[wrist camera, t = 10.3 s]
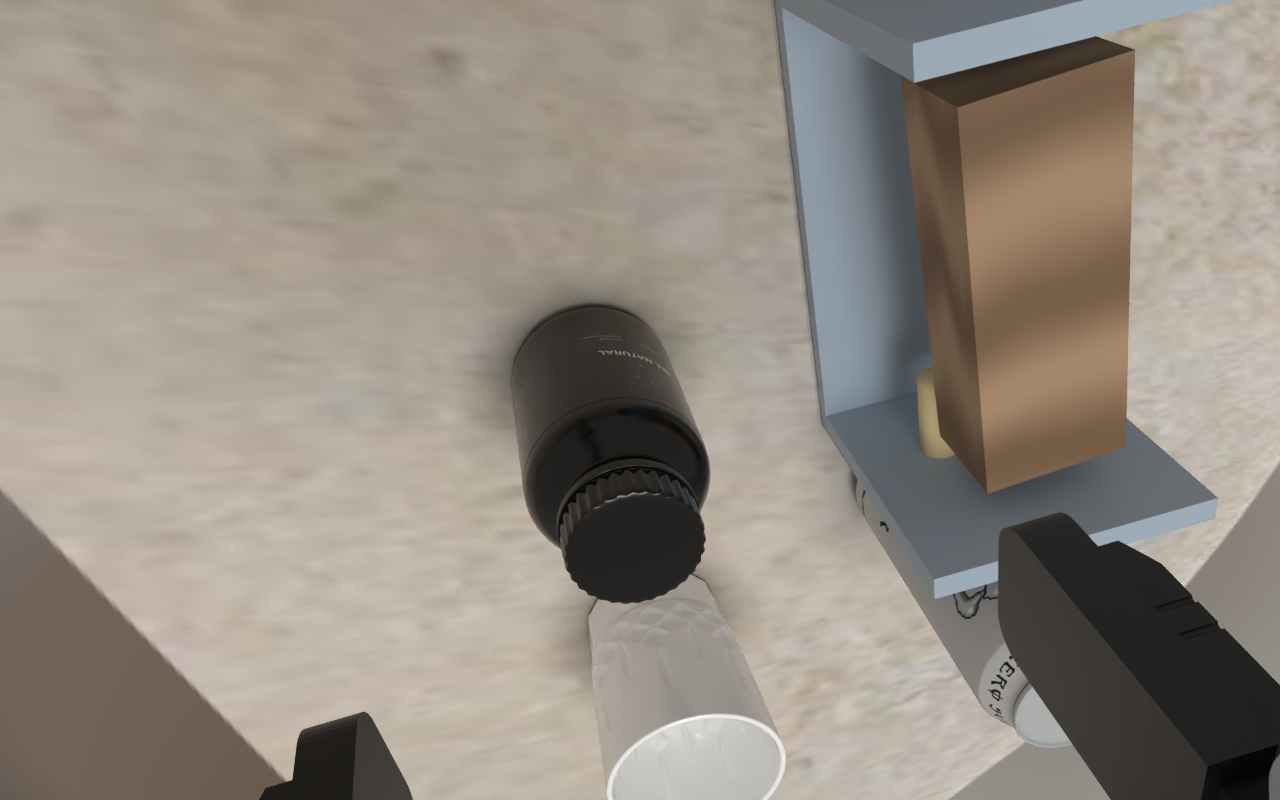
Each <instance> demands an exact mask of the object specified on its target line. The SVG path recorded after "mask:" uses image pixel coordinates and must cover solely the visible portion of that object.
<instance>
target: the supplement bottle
mask: <svg viewBox="0 0 1280 800" xmlns="http://www.w3.org/2000/svg"><path fill="white" fill-rule="evenodd" d="M512 397H513V408H514V416H515V424H516V433H517V441H518V450H519V458H520V466H521V475H522V483H523V491H524V496H525V501H526V505H527V508H528V511H529V514H530V516H531V518H532V520H533V522H534V523H535V525H536V527H537V528H538V529H539V530H540V532H541V533H542V534H543V535H544V536H545V537H546V538H547V539H548V540H549V541H550V542H552V543H553V544H554V545H555V546H557V547H558V548H560V549H561V550H562V555H563V558H564V563H565V568H566V570H567V571H568V572H569V573H570V577H571V579H572V580H573V581H574V582H576V583H577V585H578V587H579V588H580V589H582V590H585V591H586V592H587V594H588V595H591V596H596V597H597V598H598V599H599V600H607V601H609V602H611V603H618V602H619V603H622V604H629V603H640V602H643V601H645V600H653V599H655V598H656V597H658V596H663V595H665V594H667V593H668V592H669V591H671V590H674V589H676V588H677V587H678V586H679V584H681V583H683V582H685V581H686V580H687V578H688V576H689V575H690V574H692V573H693V572H694V571H695V568H696V566H697V565H698V564H699V563H700V561H701V555H702V554H703V552H704V551H705V549H704V543H705V540H706V536H705V533H704V523H703V521H702V518H701V515H700V511H701V509H702V507H703V505H704V502H705V500H706V497H707V493H708V490H709V484H710V464H709V459H708V455H707V452H706V448H705V445H704V442H703V440H702V438H701V435H700V433H699V430H698V428H697V425H696V423H695V421H694V418H693V416H692V413H691V411H690V409H689V406H688V404H687V401H686V399H685V397H684V394H683V392H682V389H681V387H680V385H679V382H678V380H677V377H676V375H675V372H674V370H673V368H672V365H671V363H670V361H669V358H668V356H667V354H666V352H665V350H664V348H663V346H662V344H661V342H660V341H659V339H658V338H657V336H656V335H655V334H654V333H653V331H652V330H651V329H650V328H649V327H647V326H646V325H645V324H644V323H642V322H641V321H640V320H638V319H636V318H635V317H633V316H631V315H629V314H626V313H624V312H621V311H618V310H614V309H609V308H601V307H591V308H581V309H576V310H572V311H568V312H565V313H562V314H560V315H558V316H556V317H554V318H552V319H550V320H548V321H547V322H545V323H544V324H543V325H541V326H540V327H539V328H538V329H536V330H535V331H534V332H533V333H532V334H531V335H530V337H529V338H528V339H527V340H526V342H525V343H524V345H523V346H522V348H521V350H520V351H519V353H518V355H517V358H516V360H515V364H514V367H513V373H512Z"/></svg>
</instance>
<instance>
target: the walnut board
mask: <svg viewBox="0 0 1280 800" xmlns="http://www.w3.org/2000/svg"><path fill="white" fill-rule="evenodd" d="M1134 65H1135V50H1134V49H1131V48H1128V47H1125V46H1122V45H1119V44H1116V43H1113V42H1111V41H1108V40H1105V39H1102V38H1099V37H1096V36H1095V37H1091V38H1087V39H1083V40H1079V41H1075V42H1071V43H1067V44H1063V45H1060V46H1056V47H1052V48H1048V49H1044V50H1040V51H1036V52H1032V53H1028V54H1024V55H1021V56H1017V57H1013V58H1009V59H1005V60H1001V61H997V62H993V63H989V64H985V65H982V66H978V67H974V68H970V69H966V70H962V71H958V72H954V73H950V74H947V75H943V76H939V77H935V78H931V79H927V80H923V81H919V82H915V83H914V82H912V81H910V80H908V79H907V78H905V77H903V76H901V82H902V91H903V100H904V110H905V119H906V128H907V137H908V146H909V155H910V165H911V174H912V183H913V192H914V201H915V210H916V220H917V229H918V238H919V247H920V256H921V265H922V274H923V284H924V293H925V302H926V311H927V320H928V329H929V339H930V348H931V357H932V366H933V375H934V384H935V394H936V403H937V412H938V421H939V430H940V436H941V438H942V439H943V440H944V441H945V442H946V444H947V445H948V446H949V447H950V448H951V450H952V451H953V452H954V453H955V455H956V456H957V457H958V458H959V459H960V461H961V462H962V463H963V464H964V466H965V467H966V468H967V469H968V470H969V472H970V473H971V474H972V475H973V477H974V478H975V479H976V480H977V481H978V483H979V484H980V485H981V486H982V488H983V489H984V490H985V491H986V492H987V494H988V493H991V492H994V491H997V490H1000V489H1003V488H1006V487H1009V486H1012V485H1015V484H1018V483H1021V482H1024V481H1027V480H1030V479H1033V478H1036V477H1039V476H1042V475H1045V474H1048V473H1051V472H1054V471H1057V470H1060V469H1063V468H1066V467H1069V466H1072V465H1075V464H1078V463H1081V462H1084V461H1087V460H1090V459H1093V458H1096V457H1099V456H1102V455H1105V454H1108V453H1111V452H1114V451H1117V450H1120V449H1123V448H1126V411H1127V368H1128V324H1129V281H1130V238H1131V195H1132V151H1133V108H1134Z"/></svg>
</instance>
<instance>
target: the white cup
mask: <svg viewBox="0 0 1280 800" xmlns="http://www.w3.org/2000/svg"><path fill="white" fill-rule="evenodd" d="M588 621H589V642H590V649H591V655H592V665H591V674H592V681H593V694H594V703H595V711H596V719H597V726H598V733H599V741H600V748H601V755H602V763H603V771H604V778H605V786H606V794H607V800H767V799H768V798H769V797H770V796H771V795H772V794H773V792H774V791H775V790H776V788H777V787H778V785H779V783H780V781H781V779H782V777H783V774H784V771H785V766H786V752H785V748H784V745H783V743H782V741H781V738H780V736H779V734H778V732H777V729H776V727H775V725H774V723H773V720H772V718H771V716H770V714H769V711H768V709H767V707H766V705H765V702H764V700H763V698H762V696H761V693H760V691H759V689H758V686H757V684H756V682H755V680H754V677H753V675H752V673H751V670H750V668H749V666H748V664H747V661H746V659H745V657H744V655H743V653H742V651H741V649H740V647H739V645H738V643H737V641H736V639H735V637H734V634H733V632H732V630H731V628H730V626H729V625H728V624H727V623H726V622H725V619H724V617H723V615H722V612H721V610H720V608H719V605H718V603H717V601H716V599H715V597H714V596H713V594H712V593H711V591H710V589H709V588H708V586H707V585H706V583H705V582H704V581H703V580H701V579H699V578H697V577H695V576H693V575H691V574H690V575H689V576H688V578H687V580H686V581H685V582H683V583H681V584H679V586H678V587H677V588H676V589H674V590H671V591H669V592H668V593H667V594H665V595H663V596H658V597H656V598H655V599H653V600H645V601H643V602H640V603H629V604H622V603H619V602H618V603H611V602H609V601H607V600H599V599H598V600H597V602H596V604H595V606H594V607H593V609H592V611H591V613H590V615H589V617H588Z"/></svg>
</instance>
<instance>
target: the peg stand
mask: <svg viewBox="0 0 1280 800" xmlns="http://www.w3.org/2000/svg"><path fill="white" fill-rule="evenodd" d="M1231 1H1235V0H775V8H776V17H777V26H778V35H779V44H780V53H781V62H782V71H783V80H784V89H785V98H786V106H787V115H788V124H789V133H790V142H791V151H792V160H793V169H794V178H795V187H796V196H797V205H798V214H799V223H800V231H801V240H802V249H803V258H804V267H805V276H806V285H807V294H808V303H809V312H810V321H811V330H812V339H813V348H814V356H815V365H816V374H817V383H818V392H819V401H820V410H821V419H822V425H823V427H824V428H825V430H826V431H827V433H828V435H829V436H830V438H831V439H832V441H833V442H834V444H835V445H836V447H837V448H838V450H839V452H840V453H841V455H842V456H843V458H844V459H845V461H846V462H847V464H848V466H849V467H850V469H851V470H852V472H853V473H854V475H855V476H856V478H857V480H858V481H859V483H860V484H861V486H862V487H863V489H864V490H865V492H866V493H867V495H868V497H869V498H870V500H871V501H872V503H873V504H874V506H875V507H876V509H877V511H878V512H879V514H880V515H881V517H882V518H883V520H884V521H885V523H886V525H887V526H888V528H889V529H890V531H891V532H892V534H893V535H894V537H895V538H896V540H897V542H898V543H899V545H900V546H901V548H902V549H903V551H904V552H905V554H906V556H907V557H908V559H909V560H910V562H911V563H912V565H913V566H914V568H915V570H916V571H917V573H918V574H919V576H920V577H921V579H922V580H923V582H924V583H925V585H926V587H927V588H928V590H929V591H930V593H931V594H932V596H933V597H934V599H937V598H941V597H944V596H948V595H951V594H954V593H958V592H961V591H965V590H968V589H972V588H975V587H979V586H982V585H986V584H989V583H993V582H996V581H998V544H999V535H1000V532H1001V530H1002V529H1003V528H1006V527H1010V526H1013V525H1017V524H1020V523H1024V522H1027V521H1030V520H1034V519H1037V518H1041V517H1044V516H1048V515H1051V514H1055V513H1058V512H1062V513H1065V514H1067V515H1069V516H1070V517H1071V518H1072V519H1073V520H1074V521H1075V522H1076V523H1077V524H1078V525H1079V526H1080V527H1081V528H1082V529H1083V530H1084V531H1085V532H1086V534H1087V535H1088V536H1089V537H1090V538H1091V539H1092V540H1093V541H1094V542H1095V543H1096V545H1097V546H1101V545H1104V544H1108V543H1111V542H1115V541H1120V542H1122V543H1124V544H1128V543H1132V542H1135V541H1139V540H1142V539H1146V538H1149V537H1152V536H1156V535H1159V534H1163V533H1166V532H1170V531H1173V530H1177V529H1180V528H1184V527H1187V526H1191V525H1194V524H1198V523H1201V522H1205V521H1208V520H1212V519H1215V513H1216V507H1217V502H1218V498H1217V497H1216V496H1215V495H1214V494H1213V493H1212V492H1211V491H1209V490H1208V489H1207V488H1206V487H1205V486H1204V485H1203V484H1201V483H1200V482H1199V481H1198V480H1197V479H1196V478H1195V477H1193V476H1192V475H1191V474H1190V473H1189V472H1188V471H1186V470H1185V469H1184V468H1183V467H1182V466H1181V465H1180V464H1178V463H1177V462H1176V461H1175V460H1174V459H1173V458H1172V457H1170V456H1169V455H1168V454H1167V453H1166V452H1165V451H1164V450H1162V449H1161V448H1160V447H1159V446H1158V445H1157V444H1156V443H1154V442H1153V441H1152V440H1151V439H1150V438H1149V437H1148V436H1146V435H1145V434H1144V433H1143V432H1142V431H1141V430H1139V429H1138V428H1137V427H1136V426H1135V425H1134V424H1133V423H1131V422H1130V421H1129V420H1128V419H1127V418H1126V448H1123V449H1120V450H1117V451H1114V452H1111V453H1108V454H1105V455H1102V456H1099V457H1096V458H1093V459H1090V460H1087V461H1084V462H1081V463H1078V464H1075V465H1072V466H1069V467H1066V468H1063V469H1060V470H1057V471H1054V472H1051V473H1048V474H1045V475H1042V476H1039V477H1036V478H1033V479H1030V480H1027V481H1024V482H1021V483H1018V484H1015V485H1012V486H1009V487H1006V488H1003V489H1000V490H997V491H994V492H991V493H988V494H987V492H986V491H985V490H984V489H983V488H982V486H981V485H980V484H979V483H978V481H977V480H976V479H975V478H974V477H973V475H972V474H971V473H970V472H969V470H968V469H967V468H966V467H965V466H964V464H963V463H962V462H961V461H960V459H959V458H958V457H957V456H956V455H955V453H954V452H953V451H952V450H951V448H950V447H949V446H948V445H947V444H946V442H945V441H944V440H943V439H942V438H941V436H940V430H939V421H938V412H937V403H936V394H935V384H934V375H933V366H932V357H931V348H930V339H929V329H928V320H927V311H926V302H925V293H924V284H923V274H922V265H921V256H920V247H919V238H918V229H917V220H916V210H915V201H914V192H913V183H912V174H911V165H910V155H909V146H908V137H907V128H906V119H905V110H904V100H903V91H902V82H901V76H903V77H905V78H907V79H908V80H910V81H912V82H914V83H915V82H919V81H923V80H927V79H931V78H935V77H939V76H943V75H947V74H950V73H954V72H958V71H962V70H966V69H970V68H974V67H978V66H982V65H985V64H989V63H993V62H997V61H1001V60H1005V59H1009V58H1013V57H1017V56H1021V55H1024V54H1028V53H1032V52H1036V51H1040V50H1044V49H1048V48H1052V47H1056V46H1060V45H1063V44H1067V43H1071V42H1075V41H1079V40H1083V39H1087V38H1091V37H1095V36H1098V35H1102V34H1106V33H1110V32H1114V31H1118V30H1122V29H1126V28H1130V27H1134V26H1137V25H1141V24H1145V23H1149V22H1153V21H1157V20H1161V19H1165V18H1169V17H1172V16H1176V15H1180V14H1184V13H1188V12H1192V11H1196V10H1200V9H1204V8H1208V7H1211V6H1215V5H1219V4H1223V3H1227V2H1231Z"/></svg>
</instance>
